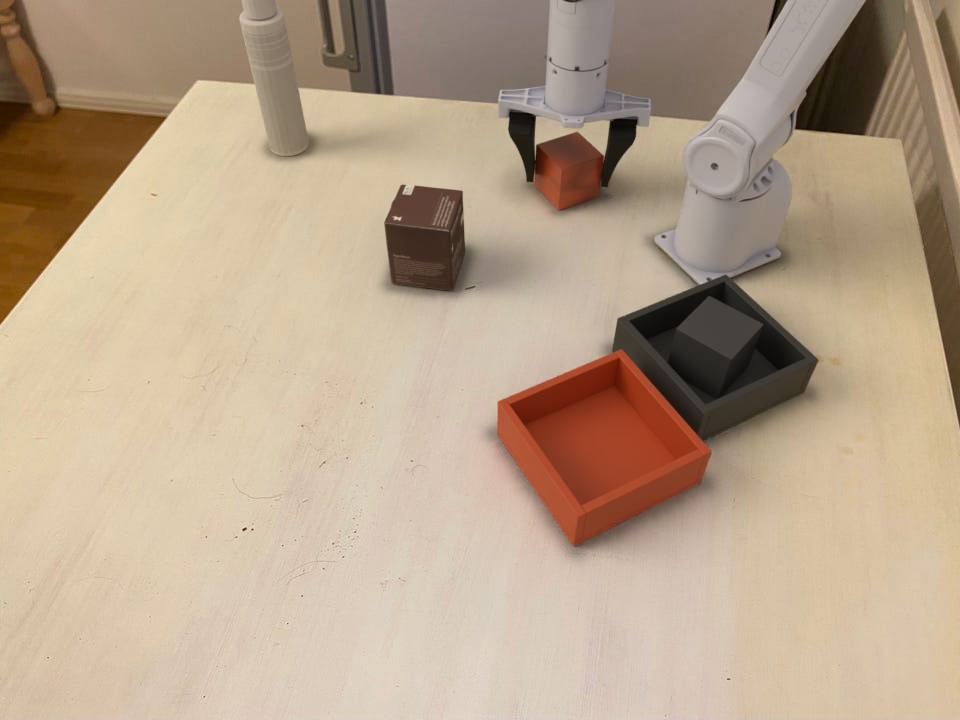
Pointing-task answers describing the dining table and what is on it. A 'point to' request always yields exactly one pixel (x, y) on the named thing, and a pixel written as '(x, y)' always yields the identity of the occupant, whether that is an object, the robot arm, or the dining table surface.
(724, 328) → the grey block
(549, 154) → the red block
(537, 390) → the rust bin
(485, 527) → the dining table surface
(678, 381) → the charcoal bin
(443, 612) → the dining table surface
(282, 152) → the bottle
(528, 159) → the robot arm
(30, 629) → the dining table surface
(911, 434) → the dining table surface
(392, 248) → the box
